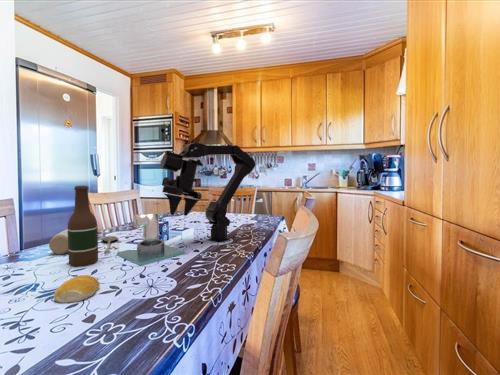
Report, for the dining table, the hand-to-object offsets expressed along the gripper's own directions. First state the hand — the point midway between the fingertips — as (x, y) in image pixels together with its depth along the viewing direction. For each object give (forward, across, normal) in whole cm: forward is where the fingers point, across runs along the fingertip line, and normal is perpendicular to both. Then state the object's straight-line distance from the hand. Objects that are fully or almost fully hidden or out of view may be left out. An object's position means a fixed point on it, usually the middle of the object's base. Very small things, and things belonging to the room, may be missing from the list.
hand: (178, 215), depth 101 cm
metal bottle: (+14, +11, -2) cm, 17 cm away
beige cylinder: (+20, +15, -31) cm, 40 cm away
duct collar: (+14, +9, -2) cm, 17 cm away
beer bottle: (+19, +23, -15) cm, 33 cm away
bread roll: (+20, +39, +3) cm, 44 cm away
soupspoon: (+18, +5, -24) cm, 30 cm away
